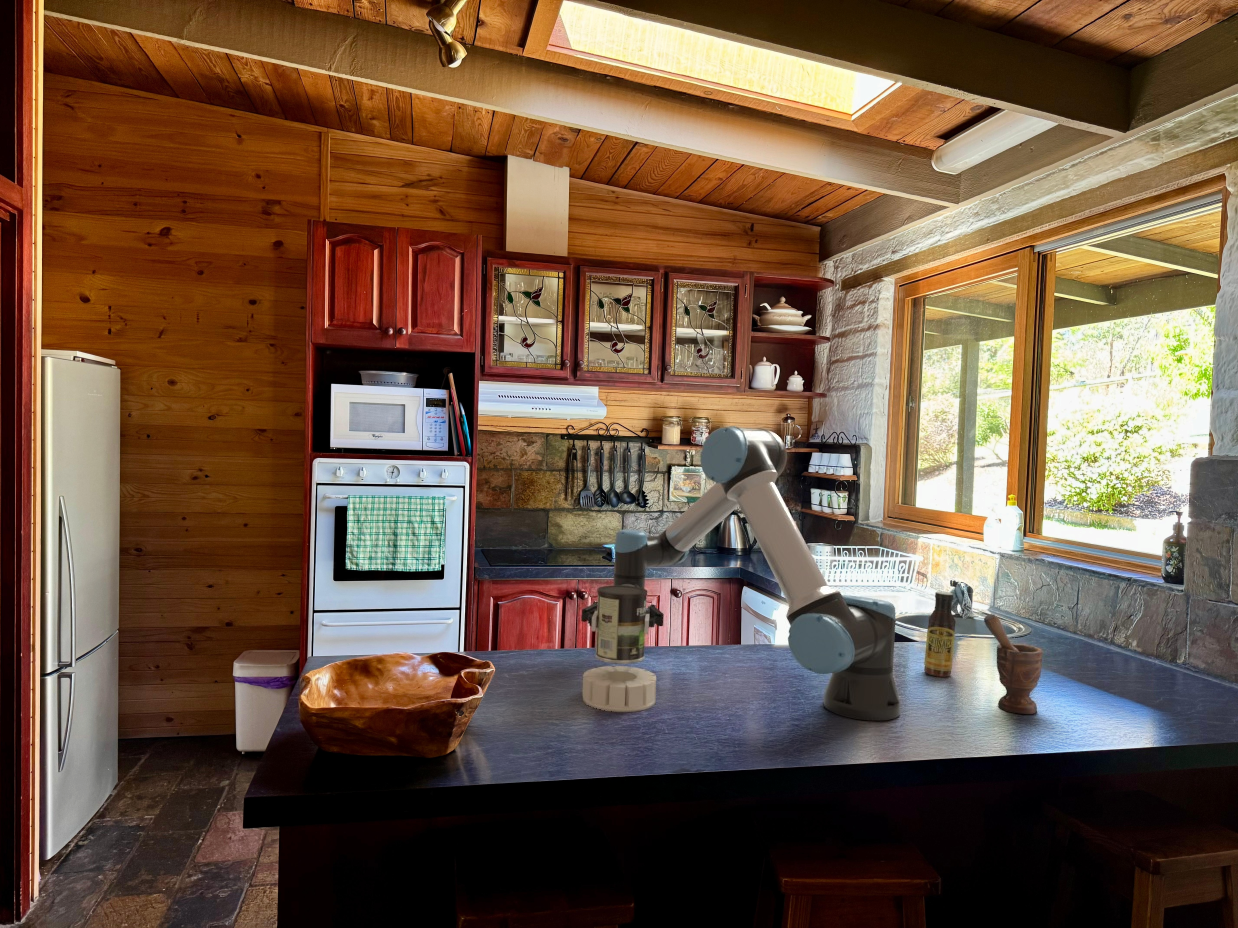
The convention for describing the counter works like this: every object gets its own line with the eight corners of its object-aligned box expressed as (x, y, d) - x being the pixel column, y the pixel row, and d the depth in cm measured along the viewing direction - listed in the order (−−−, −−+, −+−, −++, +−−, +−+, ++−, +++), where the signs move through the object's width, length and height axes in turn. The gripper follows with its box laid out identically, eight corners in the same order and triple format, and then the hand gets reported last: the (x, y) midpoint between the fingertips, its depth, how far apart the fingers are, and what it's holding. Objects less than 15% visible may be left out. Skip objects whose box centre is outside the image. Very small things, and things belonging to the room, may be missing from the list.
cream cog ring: (656, 690, 176) (656, 667, 176) (654, 713, 161) (655, 688, 161) (586, 687, 177) (587, 664, 177) (578, 709, 162) (579, 684, 162)
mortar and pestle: (1006, 719, 166) (1011, 621, 165) (973, 705, 174) (978, 612, 173) (1048, 713, 170) (1053, 618, 170) (1014, 701, 178) (1019, 609, 178)
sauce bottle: (923, 675, 196) (927, 593, 195) (924, 669, 202) (928, 589, 201) (953, 679, 193) (957, 595, 193) (952, 672, 199) (956, 591, 199)
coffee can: (648, 653, 173) (651, 586, 173) (639, 666, 163) (642, 595, 163) (601, 648, 175) (603, 583, 175) (589, 661, 165) (592, 591, 165)
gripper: (675, 622, 186) (675, 647, 164) (576, 617, 188) (563, 641, 166) (676, 589, 186) (676, 610, 164) (577, 584, 188) (564, 604, 165)
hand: (619, 625), depth 165 cm, fingers closed on coffee can, 10 cm apart
